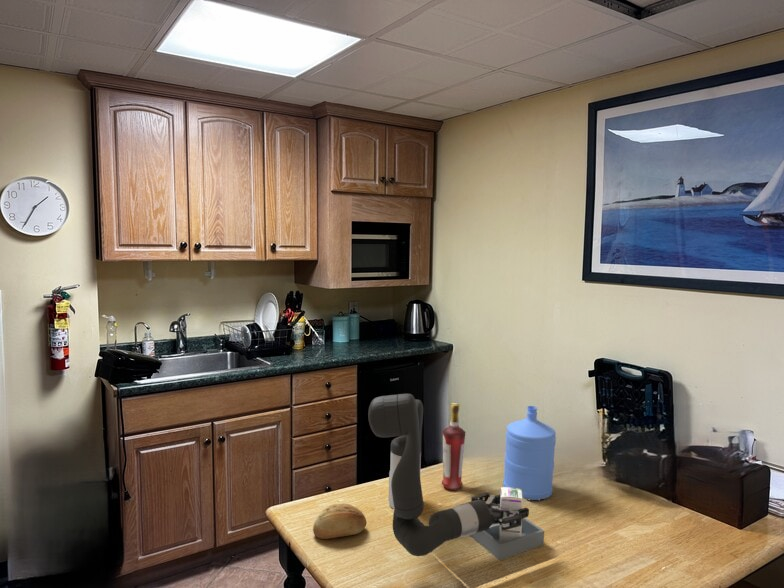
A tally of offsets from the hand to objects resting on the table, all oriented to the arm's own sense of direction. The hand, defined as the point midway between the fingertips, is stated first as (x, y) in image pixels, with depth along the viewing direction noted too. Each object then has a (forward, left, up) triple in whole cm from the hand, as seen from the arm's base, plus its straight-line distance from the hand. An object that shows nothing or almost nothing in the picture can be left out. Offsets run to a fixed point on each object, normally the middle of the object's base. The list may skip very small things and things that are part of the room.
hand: (516, 504), depth 148 cm
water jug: (-22, +25, -12) cm, 35 cm away
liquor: (-35, +4, -12) cm, 37 cm away
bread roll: (-26, -40, -12) cm, 49 cm away
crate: (-5, -2, -12) cm, 13 cm away
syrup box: (0, -2, -11) cm, 11 cm away
